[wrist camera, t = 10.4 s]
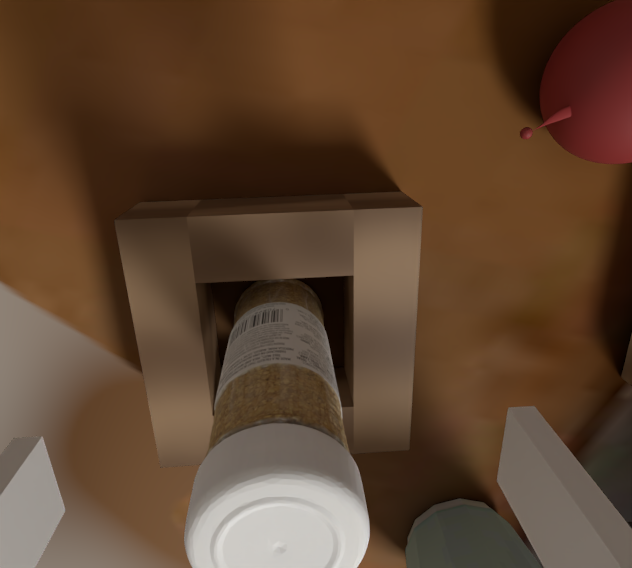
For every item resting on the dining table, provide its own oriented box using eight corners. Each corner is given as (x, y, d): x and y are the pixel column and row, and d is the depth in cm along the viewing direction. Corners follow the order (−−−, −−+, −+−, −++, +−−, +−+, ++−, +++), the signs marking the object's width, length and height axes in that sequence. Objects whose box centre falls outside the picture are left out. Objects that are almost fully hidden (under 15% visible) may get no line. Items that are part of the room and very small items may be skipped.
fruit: (522, 30, 22) (505, 39, 15) (677, -22, 19) (735, -37, 12) (540, 159, 24) (531, 214, 17) (680, 131, 21) (730, 185, 15)
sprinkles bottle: (245, 361, 24) (208, 631, 12) (224, 281, 23) (154, 497, 10) (331, 345, 24) (384, 597, 12) (316, 264, 23) (358, 457, 10)
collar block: (139, 202, 21) (113, 220, 18) (401, 191, 22) (422, 206, 18) (176, 421, 25) (160, 467, 22) (393, 406, 26) (409, 450, 23)
